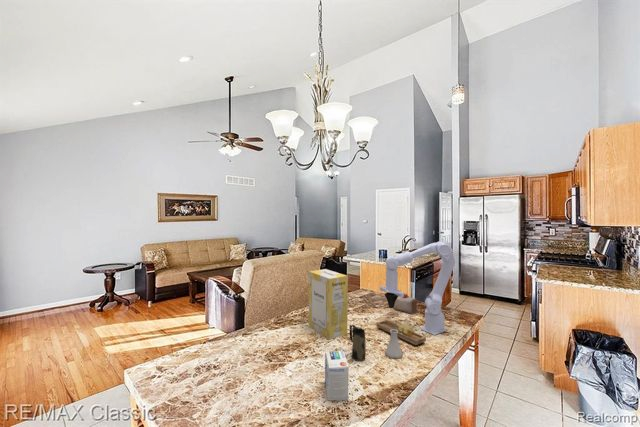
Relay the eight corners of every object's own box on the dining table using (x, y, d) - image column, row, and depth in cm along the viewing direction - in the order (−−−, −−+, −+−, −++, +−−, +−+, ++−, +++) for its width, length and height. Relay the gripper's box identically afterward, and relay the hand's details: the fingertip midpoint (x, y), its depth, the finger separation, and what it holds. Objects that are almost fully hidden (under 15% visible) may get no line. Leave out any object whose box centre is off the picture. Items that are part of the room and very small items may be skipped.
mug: (368, 359, 117) (368, 329, 117) (357, 363, 114) (358, 332, 114) (355, 350, 124) (355, 322, 123) (345, 354, 120) (345, 325, 120)
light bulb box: (324, 381, 102) (324, 350, 102) (343, 380, 102) (343, 350, 102) (327, 401, 91) (327, 367, 91) (349, 400, 92) (349, 366, 92)
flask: (403, 360, 116) (403, 335, 116) (384, 358, 118) (385, 333, 117) (402, 351, 123) (402, 327, 123) (384, 349, 125) (384, 326, 125)
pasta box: (308, 325, 149) (308, 271, 149) (325, 321, 155) (325, 269, 155) (329, 339, 134) (329, 278, 134) (347, 333, 140) (347, 275, 140)
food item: (390, 309, 174) (390, 292, 174) (397, 306, 180) (397, 290, 180) (411, 315, 165) (412, 298, 165) (418, 311, 170) (418, 295, 170)
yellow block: (404, 331, 139) (404, 323, 139) (413, 334, 134) (413, 327, 134) (398, 333, 136) (398, 325, 136) (407, 337, 132) (407, 329, 132)
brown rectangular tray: (386, 325, 151) (386, 319, 151) (426, 343, 131) (426, 336, 131) (375, 328, 146) (375, 322, 146) (414, 347, 126) (414, 341, 126)
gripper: (375, 279, 152) (375, 305, 152) (397, 285, 139) (397, 313, 140) (385, 277, 155) (385, 302, 156) (407, 283, 143) (406, 310, 144)
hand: (391, 307), depth 148 cm, fingers closed
